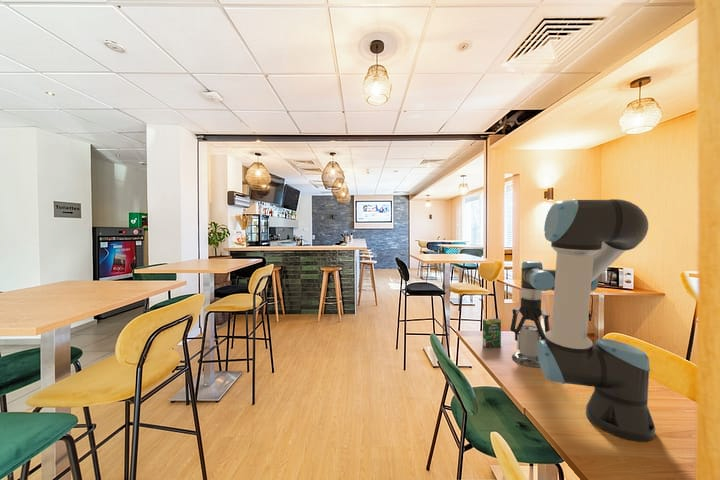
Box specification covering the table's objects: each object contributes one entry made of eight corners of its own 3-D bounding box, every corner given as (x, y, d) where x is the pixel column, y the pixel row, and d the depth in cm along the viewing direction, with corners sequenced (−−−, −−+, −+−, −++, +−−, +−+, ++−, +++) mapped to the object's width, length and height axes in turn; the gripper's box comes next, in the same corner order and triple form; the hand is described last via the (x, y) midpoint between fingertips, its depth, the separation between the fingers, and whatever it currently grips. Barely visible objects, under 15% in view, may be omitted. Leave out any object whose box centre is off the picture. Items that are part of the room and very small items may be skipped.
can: (523, 349, 133) (524, 323, 132) (542, 355, 127) (543, 327, 127) (516, 354, 128) (517, 326, 128) (535, 360, 122) (536, 331, 122)
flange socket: (552, 369, 120) (552, 365, 120) (516, 365, 123) (516, 362, 123) (540, 355, 133) (540, 352, 133) (508, 352, 136) (508, 349, 135)
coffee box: (485, 348, 141) (485, 320, 140) (481, 345, 144) (482, 318, 143) (501, 347, 142) (501, 320, 141) (497, 345, 145) (498, 318, 144)
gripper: (561, 300, 122) (559, 355, 123) (508, 292, 136) (506, 342, 137) (557, 303, 117) (555, 361, 118) (502, 295, 131) (501, 347, 132)
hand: (529, 351), depth 128 cm, fingers closed on can, 7 cm apart
